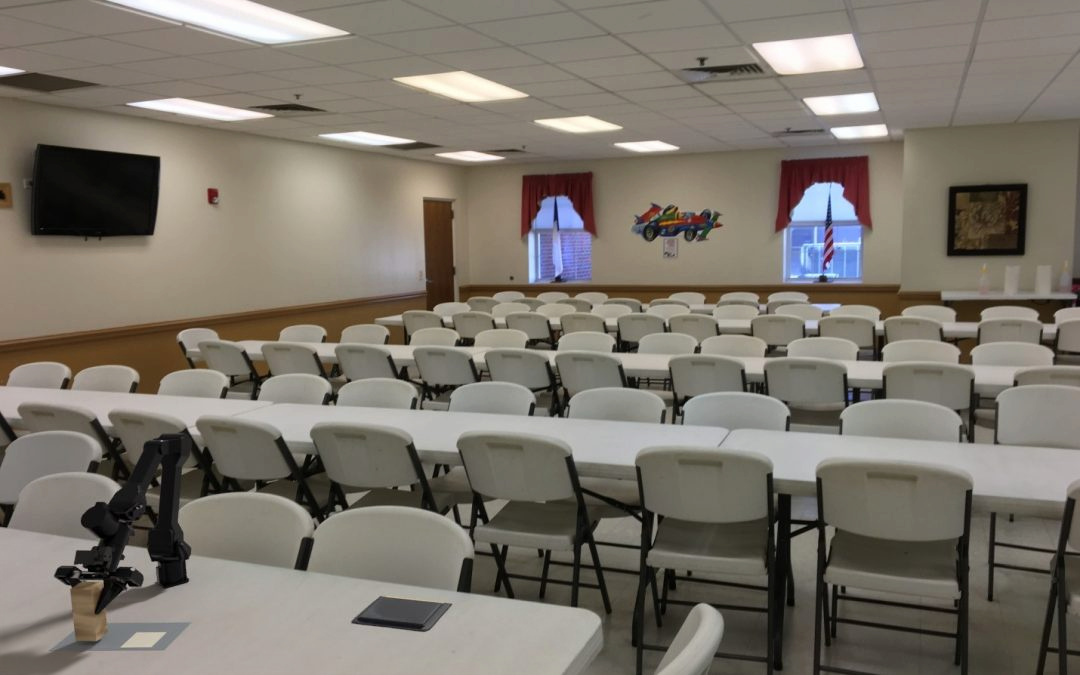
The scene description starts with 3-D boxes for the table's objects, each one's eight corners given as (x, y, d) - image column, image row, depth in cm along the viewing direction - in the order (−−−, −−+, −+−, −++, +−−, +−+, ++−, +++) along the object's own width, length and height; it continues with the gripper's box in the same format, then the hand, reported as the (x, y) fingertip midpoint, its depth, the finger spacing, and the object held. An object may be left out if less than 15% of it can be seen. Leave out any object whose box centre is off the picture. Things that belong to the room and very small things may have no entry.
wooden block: (87, 631, 189) (81, 581, 188) (107, 632, 189) (102, 582, 187) (75, 640, 185) (70, 589, 184) (96, 641, 185) (91, 589, 183)
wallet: (348, 617, 194) (380, 590, 208) (348, 625, 194) (381, 597, 208) (426, 628, 187) (454, 599, 201) (426, 636, 187) (454, 606, 202)
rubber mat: (49, 652, 184) (48, 650, 183) (83, 625, 196) (83, 622, 196) (164, 652, 182) (164, 649, 182) (191, 624, 195) (191, 621, 195)
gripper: (54, 531, 189) (24, 599, 180) (131, 533, 187) (105, 601, 177) (81, 551, 198) (54, 617, 188) (154, 553, 196) (131, 619, 186)
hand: (85, 613), depth 185 cm, fingers closed on wooden block, 5 cm apart
